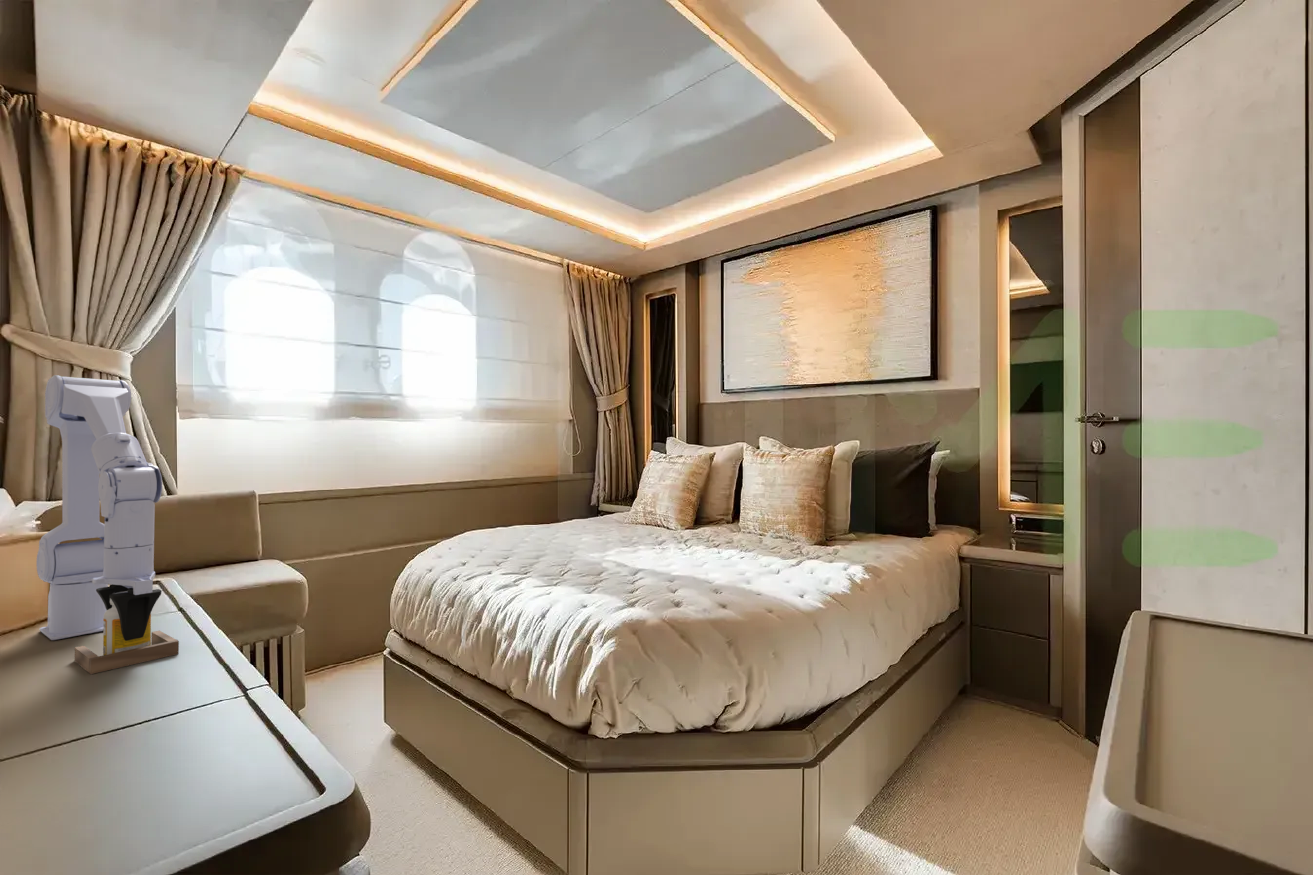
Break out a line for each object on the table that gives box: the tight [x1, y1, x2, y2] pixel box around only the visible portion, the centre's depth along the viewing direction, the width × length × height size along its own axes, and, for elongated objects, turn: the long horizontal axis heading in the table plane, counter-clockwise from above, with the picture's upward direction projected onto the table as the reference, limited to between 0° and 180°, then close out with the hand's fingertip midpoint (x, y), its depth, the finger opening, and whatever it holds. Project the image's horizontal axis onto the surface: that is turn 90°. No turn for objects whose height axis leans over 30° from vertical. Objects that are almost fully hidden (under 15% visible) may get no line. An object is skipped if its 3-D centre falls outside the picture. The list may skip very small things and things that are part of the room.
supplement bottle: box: [102, 591, 152, 656], centre depth 89 cm, size 5×5×10 cm
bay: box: [74, 630, 180, 675], centre depth 89 cm, size 9×10×2 cm
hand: (127, 634), depth 89 cm, fingers closed on supplement bottle, 5 cm apart
